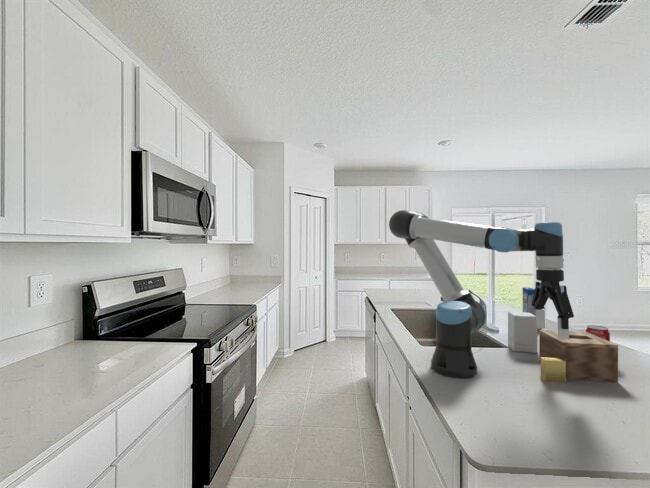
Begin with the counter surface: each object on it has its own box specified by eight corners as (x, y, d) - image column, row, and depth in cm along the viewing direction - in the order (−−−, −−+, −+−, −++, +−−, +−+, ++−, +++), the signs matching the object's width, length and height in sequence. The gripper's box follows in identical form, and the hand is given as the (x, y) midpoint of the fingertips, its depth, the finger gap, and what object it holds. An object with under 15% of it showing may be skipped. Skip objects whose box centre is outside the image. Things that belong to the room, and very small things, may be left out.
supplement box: (538, 353, 132) (538, 316, 132) (513, 351, 134) (513, 315, 134) (530, 346, 141) (530, 312, 141) (507, 345, 143) (507, 311, 143)
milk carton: (522, 322, 185) (522, 287, 185) (535, 323, 183) (535, 287, 183) (527, 326, 175) (527, 289, 175) (540, 327, 173) (540, 290, 173)
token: (545, 382, 105) (545, 360, 105) (540, 378, 108) (540, 357, 108) (565, 383, 104) (565, 361, 104) (560, 379, 107) (560, 358, 107)
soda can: (615, 365, 119) (615, 330, 119) (592, 364, 120) (592, 329, 120) (602, 358, 126) (602, 325, 126) (581, 357, 127) (581, 324, 127)
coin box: (563, 378, 107) (563, 342, 107) (539, 361, 123) (539, 329, 123) (618, 382, 104) (618, 345, 104) (586, 364, 120) (586, 331, 120)
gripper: (587, 271, 94) (589, 344, 94) (542, 266, 119) (543, 324, 119) (559, 271, 95) (561, 344, 95) (520, 266, 120) (521, 324, 120)
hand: (551, 333), depth 107 cm, fingers open, 13 cm apart
